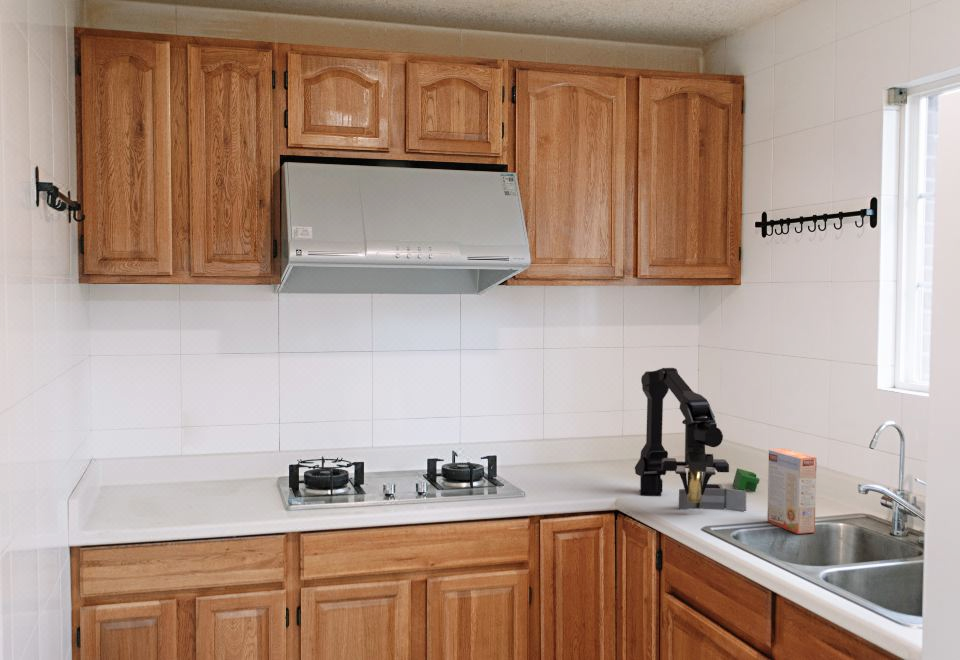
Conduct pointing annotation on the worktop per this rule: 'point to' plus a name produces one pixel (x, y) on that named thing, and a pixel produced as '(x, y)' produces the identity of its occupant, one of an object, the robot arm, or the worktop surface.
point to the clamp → (745, 480)
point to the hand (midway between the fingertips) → (694, 494)
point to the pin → (694, 487)
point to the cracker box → (792, 490)
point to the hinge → (716, 498)
